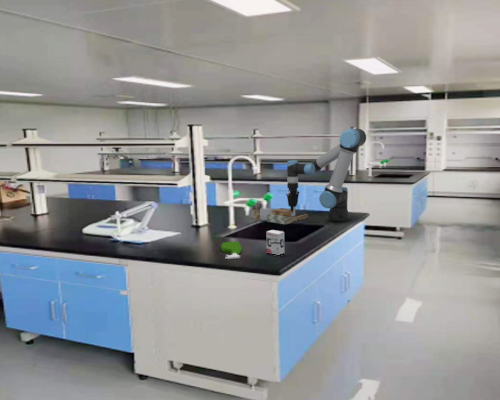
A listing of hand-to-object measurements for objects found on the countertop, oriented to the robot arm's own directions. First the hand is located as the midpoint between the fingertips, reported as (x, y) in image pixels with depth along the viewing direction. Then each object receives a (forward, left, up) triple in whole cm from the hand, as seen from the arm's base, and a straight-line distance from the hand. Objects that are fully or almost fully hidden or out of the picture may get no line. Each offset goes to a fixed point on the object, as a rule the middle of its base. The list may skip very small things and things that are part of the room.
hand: (293, 215), depth 320 cm
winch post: (+17, +20, -2) cm, 26 cm away
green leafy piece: (-27, +90, -3) cm, 94 cm away
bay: (+1, +5, -2) cm, 5 cm away
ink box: (-46, +78, -2) cm, 91 cm away
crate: (+1, +12, -2) cm, 13 cm away
